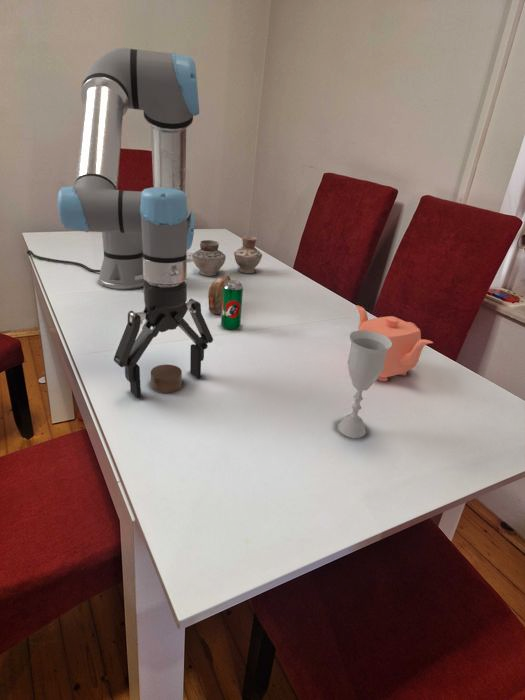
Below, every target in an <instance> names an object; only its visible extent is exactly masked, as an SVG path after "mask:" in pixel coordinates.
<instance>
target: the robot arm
mask: <svg viewBox="0 0 525 700" xmlns="http://www.w3.org/2000/svg"><path fill="white" fill-rule="evenodd" d="M198 88H199V87H198V77H197V68H196V62H195V60H194V59H193V58H192V57H191V56H188V55H183V54H178V53H175V52H172V53H171V52H164V51H153V50H145V49H144V50H143V49H136V48H131V47H130V48H129V47H121V48H115V49H111V50H109V51H107V52H105V53H104V54H102V55H101V56H99V57H98V58H97V59H96V60H95V61H94V62H93V63H92V64H91V66H90V67H89V68H88V69H87V71H86V73H85V75H84V76H83V79H82V83H81V90H80V98H81V101H82V104H83V106H84V108H83V115H82V124H81V132H80V140H79V146H78V155H77V163H76V170H75V177H74V185H70V186H63V187H60V190H59V191H58V193H57V212H58V213H57V214H58V217H59V221H60V223H61V225H62V227H63V228H64V229H66V230H69V231H74V232H75V231H76V232H84V233H90V232H91V233H101V235H102V247H103V259H102V262H101V263H102V264H101V268H100V269H94V268H90V267H88V266H87V265H85V264H83V263H81V262H77V261H71V260H61V259H55V258H50V257H44V256H40V255H37V254H35V253H34V252H33V251H32V250H30V249H28V250H27V251H26V254H30V255H31V256H32V257H34V258H37V259H40V260H45V261H49V262H55V263H61V264H62V263H63V264H71V265H76V266H80V267H82V268H84V269H86V270H87V271H90V272H92V273H99V274H98V275H99V276H98V279H99V284H100V285H102V287H103V286H104V287H105V288H108V289H114V290H137V289H141V288H143V300H144V309H143V311H138V312H135V311H134V310H129V311H128V312H127V323H126V326H125V328H124V331H123V333H122V336H121V337H120V341H119V343H118V347H117V349H116V351H115V354H114V357H113V361H114V362H115V364H117V365H118V367H120V368H124V377H125V379H126V380H127V381H128V382H129V387H130V393H131V394H133V396H135V398H137V399H139V398H141V397H142V391H141V389H142V388H141V368H140V367H141V366H140V365H138V362H139V360H140V359H141V358H142V357H143V354H144V352H145V351H146V350H147V348H148V346H149V345H150V344H151V342H152V341H153V339H154V338H156V337H157V336H158V335H159V333H165V332H167V331H169V330H170V331H171V330H173V331H174V330H177V328H178V327H179V329H180V330H181V331H183V332H184V334H185V335H186V336H187V337H188V338H189V339H190V340H191V341H192V342H193V343H192V344H190V363H189V365H190V366H189V373H190V374H191V375H192V376H194V377H195V378H196V379H199V378H201V376H202V373H201V372H202V369H201V368H202V362H203V361H204V359H205V350H206V349H208V346H209V345H208V344H211V343H213V341H214V338H213V335H212V334H211V332H210V329H209V327H208V324H207V323H206V320H205V318H204V316H203V313H202V304H201V303H200V302H199V301H197V300H195V299H193V298H190V299H189V300H188V299H187V298H188V297H187V296H188V295H187V293H188V292H187V291H188V289H187V288H188V284H187V282H186V280H187V276H188V275H187V269H188V268H187V267H188V266H187V264H188V263H187V262H188V261H187V260H188V257H187V253H186V251H187V250H190V249H191V247H192V245H193V241H194V235H195V227H196V226H195V225H196V217H195V216H196V215H195V213H194V212H193V211H191V209H190V207H189V204H188V198H187V197H188V196H187V194H186V176H187V175H186V174H187V173H186V172H187V171H186V169H187V128H189V127H190V126H192V125H193V122H194V117H196V116H198V115H200V103H199V101H200V100H199V89H198ZM128 109H130V110H138V111H139V110H140V111H143V118H144V120H145V121H146V123H148V124H149V125H150V141H151V143H150V144H151V157H152V158H151V160H152V161H151V163H152V185H153V187H148V188H147V187H146V188H144V189H143V190H142V191H136V190H124V189H123V190H121V189H119V176H120V175H119V174H120V162H121V161H120V160H121V148H122V147H121V146H122V132H123V119H124V116H125V115H126V114H127V112H128ZM187 300H188V302H187ZM188 312H189V314H190V316H191V318H192V320H193V322H194V324H195V327H196V329H197V331H198V333H199V334H198V333H197V332H196V331H195V330H194V329H193V328H192V327H191V326H190V324H189V323H188V321H186V320H185V319H184V318H185V316H186V314H187V313H188ZM144 320H145V322H143V321H144ZM141 326H142V327H141ZM140 328H141V331H140ZM139 332H140V333H139Z"/></svg>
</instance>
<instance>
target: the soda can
mask: <svg viewBox="0 0 525 700" xmlns="http://www.w3.org/2000/svg"><path fill="white" fill-rule="evenodd" d="M243 293H244V287H243V282H241V281H239V280H236V279H230V280H228V281H225V282H224V285H223V291H222V313H221V314H220V325H221V327H222V328H223V329H224V330H226V331H236V330H238V329H239V328H241V326H242V325H241V324H242V310H243Z"/></svg>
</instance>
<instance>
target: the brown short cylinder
mask: <svg viewBox="0 0 525 700" xmlns="http://www.w3.org/2000/svg"><path fill="white" fill-rule="evenodd" d="M149 373H150V374H149V375H150V388H151V389H152V390H153V391H155V392H158V393H161V394H162V393H163V394H168V393H169V394H171V393H173V392H176V391H179V390H180V389H181V387H182V385H183V381H182V380H183V371H182V369H181V368H180V367H179V366H178V365H175V364H167V363H166V364H159V365H156V366H154V367H153V368H152V369H150V372H149Z"/></svg>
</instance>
